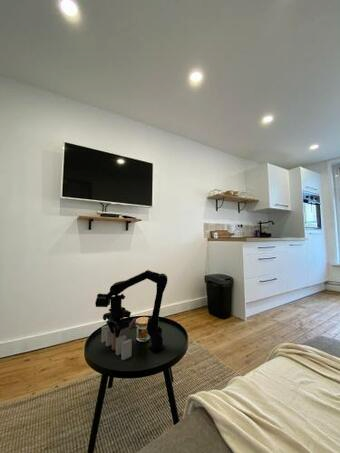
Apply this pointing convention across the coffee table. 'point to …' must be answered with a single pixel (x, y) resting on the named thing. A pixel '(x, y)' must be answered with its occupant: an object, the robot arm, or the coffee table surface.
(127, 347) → the domino
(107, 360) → the coffee table surface
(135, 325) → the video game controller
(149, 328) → the robot arm
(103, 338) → the domino
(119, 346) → the domino
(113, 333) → the domino
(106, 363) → the coffee table surface
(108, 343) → the domino
